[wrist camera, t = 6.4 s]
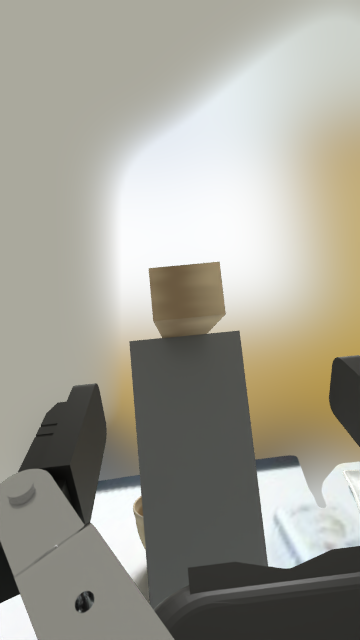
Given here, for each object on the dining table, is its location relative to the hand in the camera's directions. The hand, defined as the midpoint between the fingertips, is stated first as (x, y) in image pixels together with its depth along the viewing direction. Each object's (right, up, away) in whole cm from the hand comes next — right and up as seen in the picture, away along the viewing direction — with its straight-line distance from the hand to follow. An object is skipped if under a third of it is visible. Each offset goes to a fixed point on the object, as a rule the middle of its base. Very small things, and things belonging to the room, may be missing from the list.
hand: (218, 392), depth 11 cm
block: (-1, +1, +22) cm, 22 cm away
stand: (+3, -37, +24) cm, 44 cm away
